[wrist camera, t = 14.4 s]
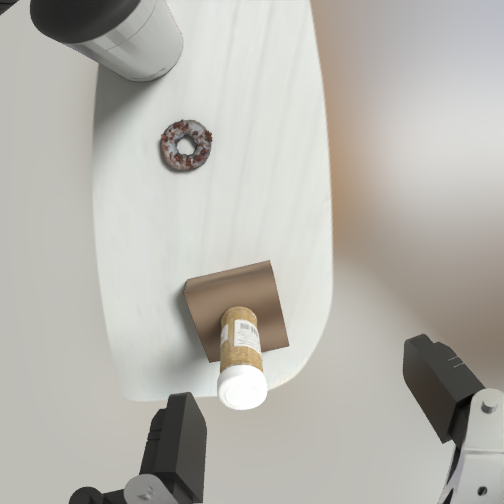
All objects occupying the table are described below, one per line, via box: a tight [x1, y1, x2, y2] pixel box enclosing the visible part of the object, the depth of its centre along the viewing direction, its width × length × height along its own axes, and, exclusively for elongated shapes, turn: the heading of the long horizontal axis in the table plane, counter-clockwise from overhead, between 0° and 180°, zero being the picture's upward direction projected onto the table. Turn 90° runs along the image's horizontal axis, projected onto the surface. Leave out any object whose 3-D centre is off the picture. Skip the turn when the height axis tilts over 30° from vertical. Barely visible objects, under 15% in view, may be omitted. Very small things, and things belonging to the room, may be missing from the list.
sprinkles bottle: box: [217, 306, 267, 410], centre depth 33 cm, size 5×5×13 cm
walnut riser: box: [183, 260, 289, 363], centre depth 41 cm, size 11×11×4 cm
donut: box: [161, 120, 212, 170], centre depth 35 cm, size 8×8×2 cm
